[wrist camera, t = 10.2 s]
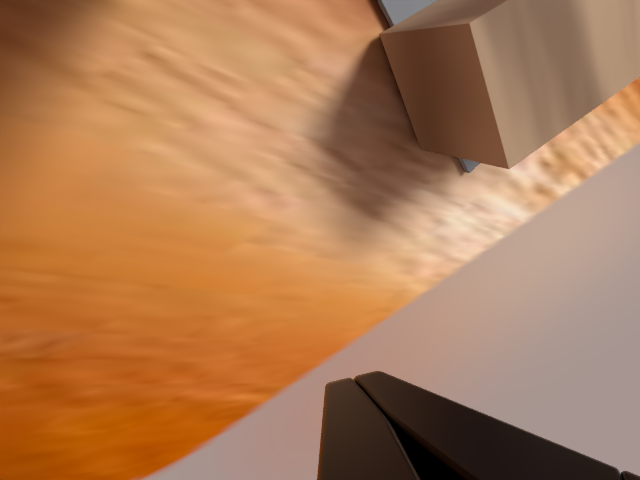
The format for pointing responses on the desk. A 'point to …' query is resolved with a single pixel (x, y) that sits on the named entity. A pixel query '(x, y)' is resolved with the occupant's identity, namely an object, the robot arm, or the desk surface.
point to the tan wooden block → (509, 71)
